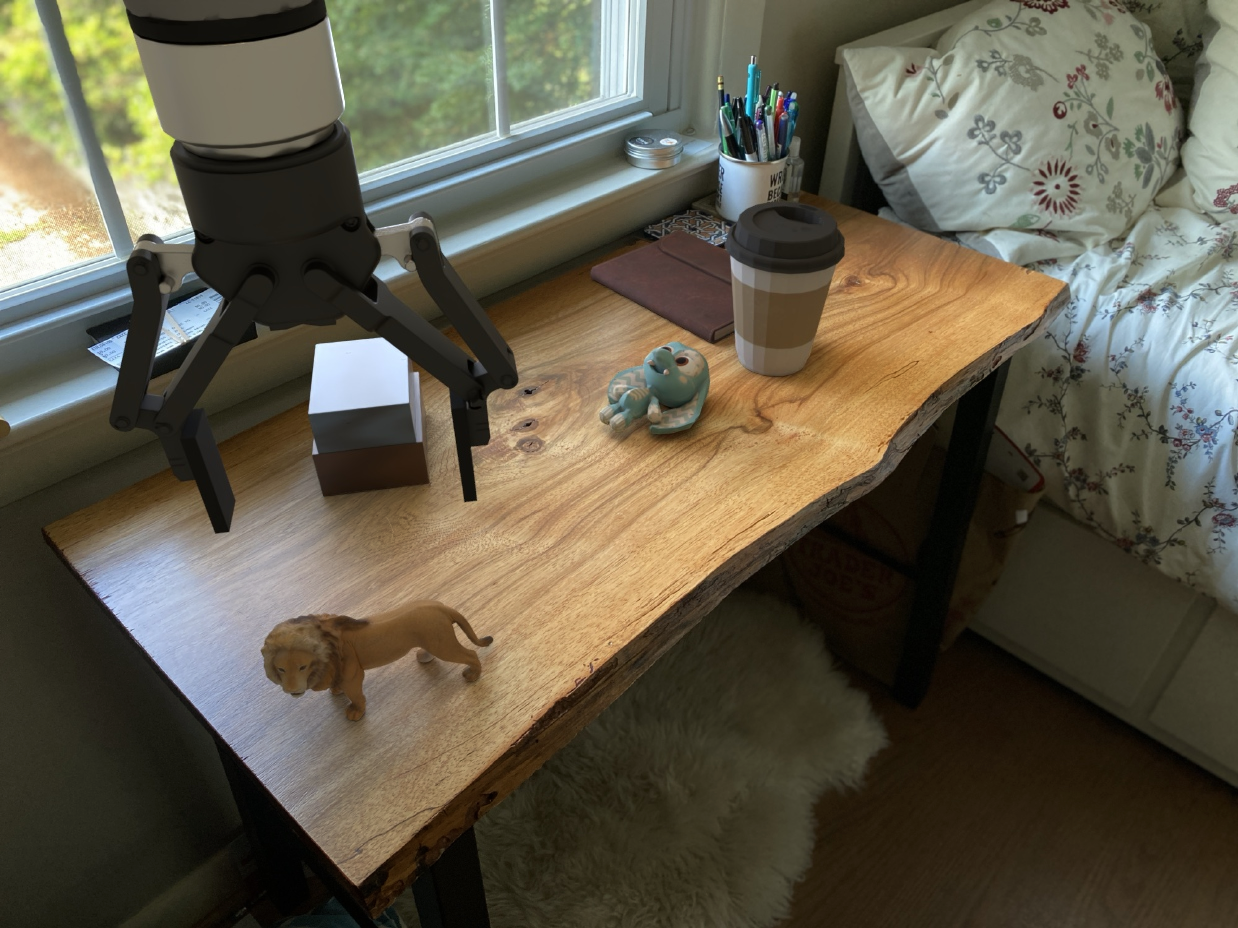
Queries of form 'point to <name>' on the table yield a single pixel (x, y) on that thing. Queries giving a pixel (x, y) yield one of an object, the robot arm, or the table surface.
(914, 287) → the table surface
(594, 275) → the notebook
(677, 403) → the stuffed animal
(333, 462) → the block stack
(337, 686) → the lion figurine
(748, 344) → the coffee cup
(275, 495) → the table surface
